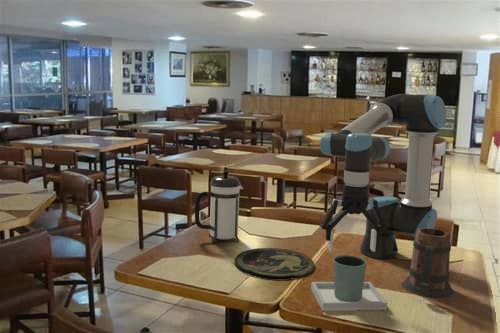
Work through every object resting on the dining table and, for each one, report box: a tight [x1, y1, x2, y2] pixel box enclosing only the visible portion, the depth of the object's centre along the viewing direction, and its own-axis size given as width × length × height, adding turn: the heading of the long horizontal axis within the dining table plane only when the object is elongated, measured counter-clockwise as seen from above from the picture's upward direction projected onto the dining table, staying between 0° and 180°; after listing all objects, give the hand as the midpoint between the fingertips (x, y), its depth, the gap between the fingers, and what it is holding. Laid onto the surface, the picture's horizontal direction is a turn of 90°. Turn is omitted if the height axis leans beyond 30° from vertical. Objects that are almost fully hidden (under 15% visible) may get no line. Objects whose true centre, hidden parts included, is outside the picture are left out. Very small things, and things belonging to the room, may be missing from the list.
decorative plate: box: [234, 247, 315, 280], centre depth 187 cm, size 30×2×30 cm
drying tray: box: [310, 281, 389, 312], centre depth 158 cm, size 20×16×2 cm
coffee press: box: [194, 169, 244, 244], centre depth 211 cm, size 17×16×30 cm
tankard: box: [401, 227, 455, 299], centre depth 165 cm, size 24×17×20 cm
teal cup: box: [333, 254, 367, 302], centre depth 157 cm, size 10×10×12 cm
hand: (351, 250), depth 156 cm, fingers open, 13 cm apart
